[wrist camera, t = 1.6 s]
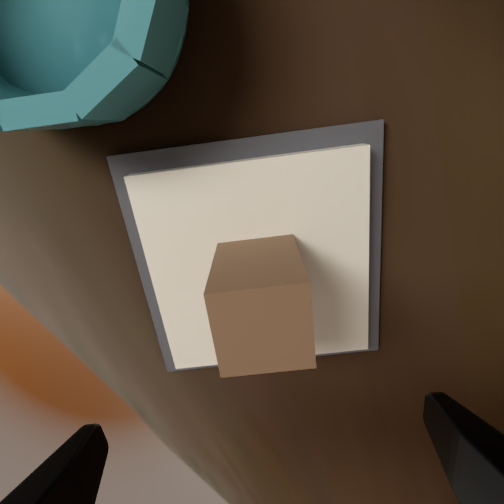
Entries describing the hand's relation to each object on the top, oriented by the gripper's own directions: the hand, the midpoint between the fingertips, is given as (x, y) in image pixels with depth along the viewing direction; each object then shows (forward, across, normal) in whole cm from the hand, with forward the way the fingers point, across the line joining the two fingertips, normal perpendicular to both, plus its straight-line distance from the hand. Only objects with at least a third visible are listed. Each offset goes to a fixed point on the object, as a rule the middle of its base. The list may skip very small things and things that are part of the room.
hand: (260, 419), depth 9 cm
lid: (+10, 0, 0) cm, 11 cm away
